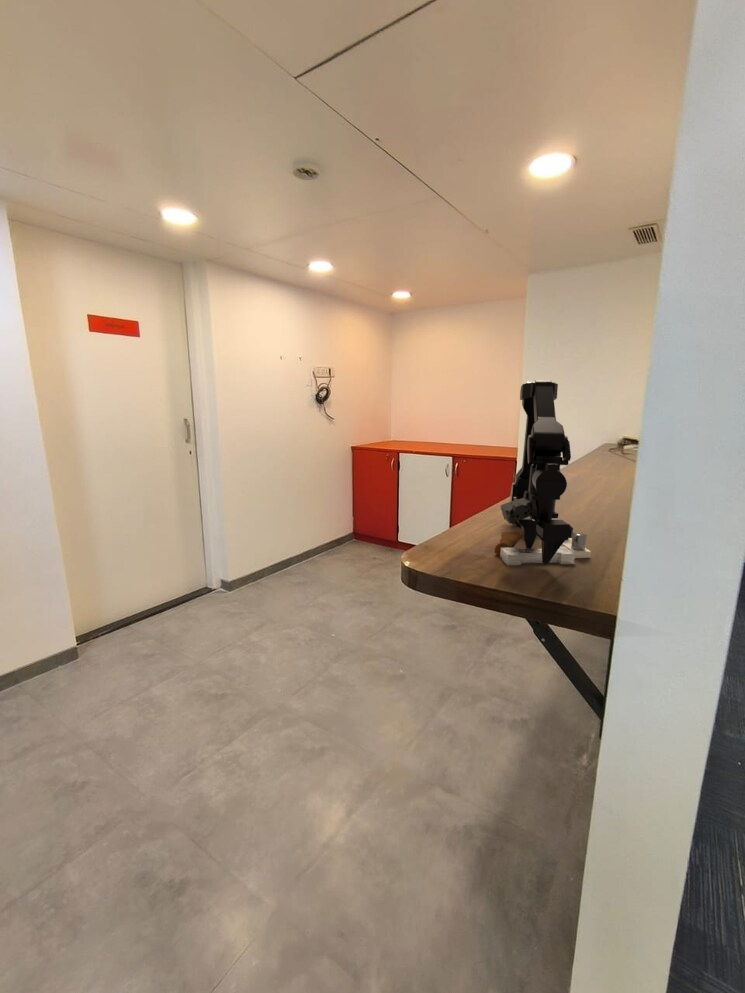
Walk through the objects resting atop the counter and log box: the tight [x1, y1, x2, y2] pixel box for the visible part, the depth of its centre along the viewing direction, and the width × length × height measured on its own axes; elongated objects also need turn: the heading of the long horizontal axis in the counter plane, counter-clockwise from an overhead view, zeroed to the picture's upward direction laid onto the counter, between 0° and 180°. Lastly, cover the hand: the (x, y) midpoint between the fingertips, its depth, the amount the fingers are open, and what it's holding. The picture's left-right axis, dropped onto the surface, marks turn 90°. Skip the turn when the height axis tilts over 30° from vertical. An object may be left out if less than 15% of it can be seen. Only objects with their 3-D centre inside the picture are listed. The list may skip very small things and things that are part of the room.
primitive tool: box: [494, 531, 524, 557], centre depth 110 cm, size 19×6×4 cm, turn 158°
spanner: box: [499, 546, 576, 566], centre depth 100 cm, size 5×15×2 cm, turn 93°
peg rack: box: [560, 523, 592, 559], centre depth 107 cm, size 12×4×5 cm, turn 3°
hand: (536, 556), depth 100 cm, fingers open, 9 cm apart
